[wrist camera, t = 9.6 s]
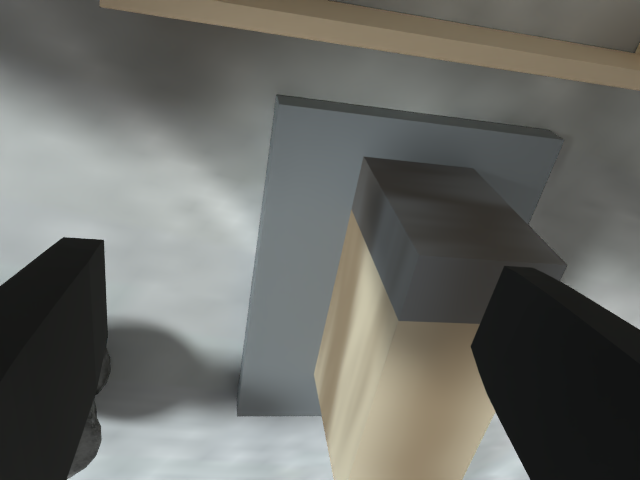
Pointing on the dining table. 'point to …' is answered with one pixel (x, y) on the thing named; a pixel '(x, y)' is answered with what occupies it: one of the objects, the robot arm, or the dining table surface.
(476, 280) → the capped box
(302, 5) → the wooden tray
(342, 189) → the slate board
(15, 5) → the dining table surface
